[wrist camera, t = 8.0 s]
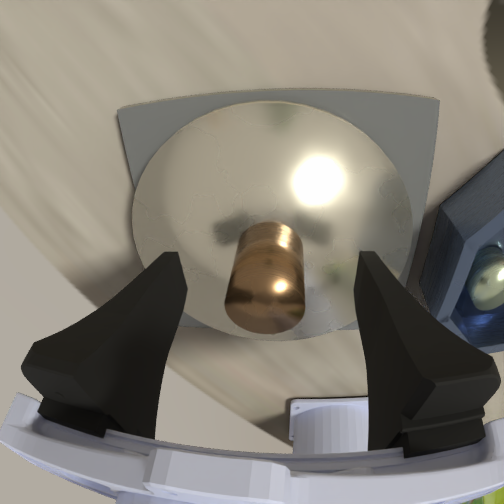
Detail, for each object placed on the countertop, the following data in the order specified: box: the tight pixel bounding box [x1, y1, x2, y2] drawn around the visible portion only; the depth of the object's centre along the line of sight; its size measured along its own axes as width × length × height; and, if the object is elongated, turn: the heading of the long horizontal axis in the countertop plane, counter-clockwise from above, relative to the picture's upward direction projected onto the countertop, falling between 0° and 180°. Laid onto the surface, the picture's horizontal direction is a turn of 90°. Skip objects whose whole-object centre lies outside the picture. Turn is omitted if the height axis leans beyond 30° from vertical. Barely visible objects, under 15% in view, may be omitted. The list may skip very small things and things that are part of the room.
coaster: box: [117, 88, 440, 330], centre depth 15 cm, size 13×13×1 cm
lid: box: [132, 100, 413, 341], centre depth 13 cm, size 12×12×4 cm
